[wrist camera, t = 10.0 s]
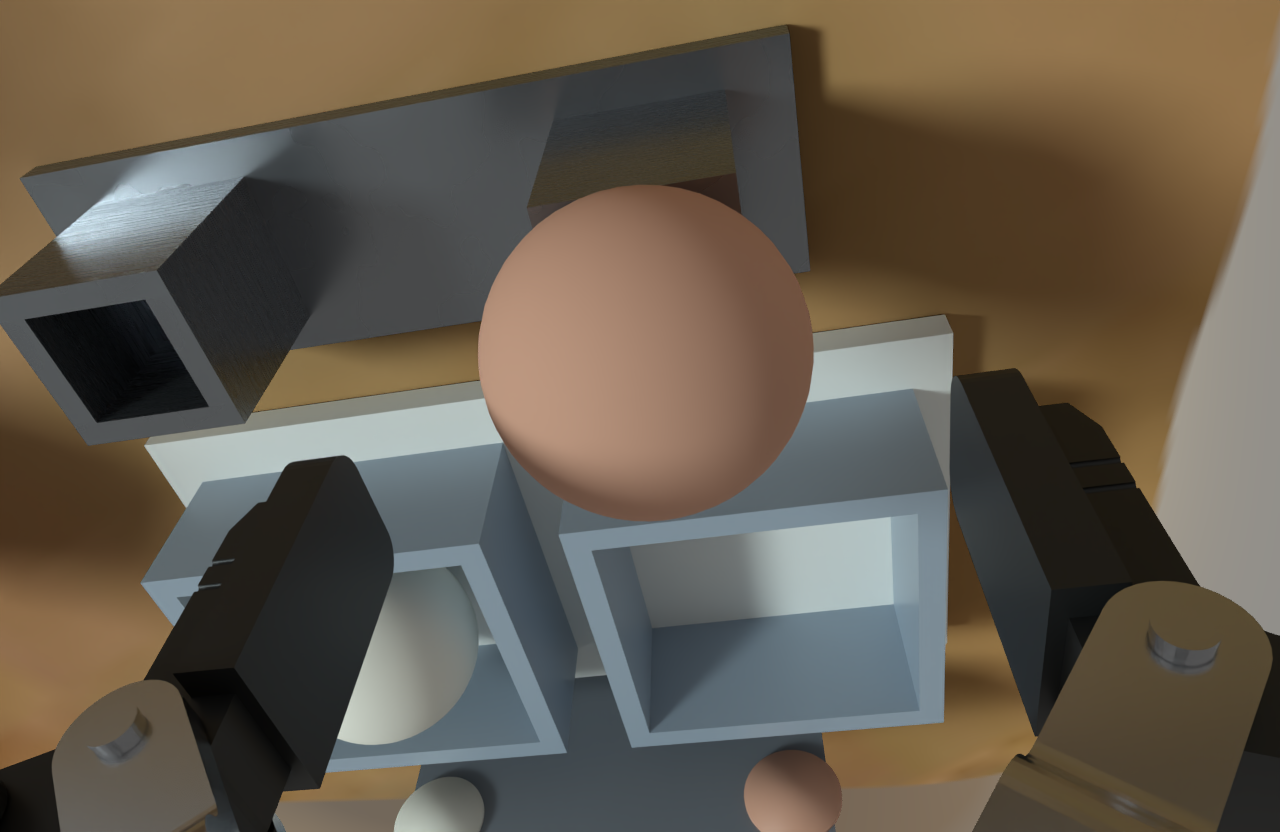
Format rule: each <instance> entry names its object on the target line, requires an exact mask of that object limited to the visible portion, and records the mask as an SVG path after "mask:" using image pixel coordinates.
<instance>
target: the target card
mask: <svg viewBox="0 0 1280 832" xmlns="http://www.w3.org/2000/svg"><path fill="white" fill-rule="evenodd" d="M841 808H842V793H841V787H840V783H839V780H838V778H837V776H836V774H835V773H834V771H833V770H832V768H831V767H830V766H829V765H828V764H827V763H826V761H825V754H824V747H823V740H822V733H821V732H820V733H807V734H795V735H783V736H770V737H758V738H746V739H733V740H721V741H709V742H696V743H684V744H672V745H659V746H647V747H635V748H632V747H631V744H630V741H629V738H628V735H627V732H626V729H625V727H624V724H623V721H622V718H621V715H620V712H619V709H618V706H617V703H616V700H615V698H614V695H613V692H612V689H611V686H610V683H609V680H608V677H607V675H602V676H591V677H580V678H575V683H574V692H573V702H572V711H571V721H570V731H569V740H568V750H567V753H561V754H548V755H536V756H524V757H511V758H499V759H487V760H474V761H462V762H450V763H437V764H425V765H421V769H420V773H419V777H418V781H417V785H416V789H415V792H414V793H413V794H412V795H411V796H410V797H409V798H408V799H407V800H406V802H405V803H404V804H403V806H402V808H401V809H400V812H399V813H398V816H397V819H396V822H395V826H394V832H836V831H835V823H836V822H837V820H838V818H839V815H840V812H841Z"/></svg>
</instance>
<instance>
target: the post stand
mask: <svg viewBox="0 0 1280 832" xmlns="http://www.w3.org/2000/svg"><path fill="white" fill-rule="evenodd" d="M20 180H21V181H22V183H23V185H24V186H25V188H26V189H27V191H28V192H29V194H30V196H31V197H32V199H33V200H34V202H35V203H36V205H37V207H38V208H39V210H40V211H41V213H42V214H43V216H44V218H45V219H46V221H47V222H48V224H49V225H50V227H51V229H52V230H53V232H54V233H55V235H56V236H57V237H56V238H55V239H54V240H52V241H51V242H50V243H49V244H48V245H47V246H45V247H44V248H43V249H42V250H41V251H39V252H38V253H37V254H36V255H35V256H34V257H32V258H31V259H30V260H29V261H28V262H26V263H25V264H24V265H23V266H22V267H21V268H19V269H18V270H17V271H16V272H15V273H13V274H12V275H11V276H10V277H9V278H7V279H6V280H5V281H4V282H3V283H2V284H0V325H1V326H2V327H3V329H4V330H5V332H6V333H7V334H8V336H9V337H10V338H11V340H12V341H13V343H14V344H15V345H16V347H17V348H18V350H19V351H20V352H21V354H22V355H23V356H24V358H25V359H26V361H27V362H28V363H29V365H30V366H31V367H32V369H33V370H34V372H35V373H36V374H37V376H38V377H39V379H40V380H41V381H42V383H43V384H44V385H45V387H46V388H47V390H48V391H49V392H50V394H51V395H52V397H53V398H54V399H55V401H56V402H57V403H58V405H59V406H60V408H61V409H62V410H63V412H64V413H65V414H66V416H67V417H68V419H69V420H70V421H71V423H72V424H73V426H74V427H75V428H76V430H77V431H78V432H79V434H80V435H81V437H82V438H83V439H84V441H85V442H86V443H87V445H88V446H90V445H97V444H104V443H111V442H118V441H125V440H132V439H140V438H147V437H154V436H161V435H168V434H175V433H182V432H189V431H197V430H204V429H211V428H218V427H225V426H232V425H239V424H245V423H246V421H247V420H248V418H249V416H250V415H251V413H252V411H253V410H254V408H255V406H256V405H257V403H258V402H259V400H260V398H261V397H262V395H263V393H264V392H265V390H266V388H267V387H268V385H269V383H270V382H271V380H272V378H273V377H274V375H275V374H276V372H277V370H278V369H279V367H280V365H281V364H282V362H283V360H284V359H285V357H286V355H287V354H288V352H289V350H293V349H299V348H306V347H312V346H319V345H326V344H332V343H339V342H345V341H352V340H359V339H365V338H372V337H378V336H385V335H392V334H398V333H405V332H411V331H418V330H425V329H431V328H438V327H444V326H451V325H458V324H464V323H471V322H477V321H482V316H483V311H484V306H485V303H486V301H487V298H488V295H489V292H490V290H491V287H492V285H493V283H494V281H495V279H496V277H497V275H498V273H499V271H500V269H501V268H502V266H503V264H504V262H505V260H506V259H507V258H508V257H509V255H510V254H511V253H512V251H513V250H514V249H515V248H516V246H517V245H518V244H519V243H520V242H521V240H522V239H523V238H524V237H525V236H526V235H527V234H528V233H529V232H530V231H531V230H532V229H533V228H534V227H535V226H536V225H537V224H539V223H540V222H541V221H543V220H544V219H545V218H547V217H548V216H550V215H551V214H552V213H554V212H555V211H557V210H559V209H561V208H563V207H564V206H566V205H568V204H570V203H572V202H574V201H576V200H578V199H580V198H582V197H585V196H588V195H590V194H593V193H596V192H599V191H603V190H607V189H611V188H616V187H622V186H632V185H662V186H669V187H676V188H682V189H685V190H689V191H692V192H696V193H700V194H702V195H705V196H707V197H710V198H712V199H714V200H717V201H719V202H721V203H723V204H724V205H726V206H728V207H730V208H731V209H733V210H735V211H736V212H738V213H739V214H741V215H742V216H744V217H745V218H746V219H748V220H749V221H750V222H751V223H753V224H754V225H755V226H757V227H758V228H759V229H760V230H761V231H762V232H763V233H764V234H765V235H766V236H767V237H768V238H769V239H770V240H771V241H772V242H773V244H774V245H775V246H776V248H777V249H778V251H779V252H780V253H781V255H782V256H783V257H784V259H785V260H786V262H787V263H788V264H789V266H790V267H791V269H792V271H793V273H801V272H807V271H810V262H809V251H808V240H807V228H806V217H805V205H804V194H803V182H802V171H801V160H800V148H799V137H798V125H797V114H796V102H795V91H794V80H793V68H792V57H791V45H790V34H789V31H788V28H787V25H781V26H776V27H770V28H765V29H760V30H755V31H749V32H744V33H739V34H734V35H728V36H723V37H718V38H713V39H707V40H702V41H697V42H691V43H686V44H681V45H676V46H670V47H665V48H660V49H655V50H649V51H644V52H639V53H634V54H628V55H623V56H618V57H612V58H607V59H602V60H597V61H591V62H586V63H581V64H576V65H570V66H565V67H560V68H555V69H549V70H544V71H539V72H533V73H528V74H523V75H518V76H512V77H507V78H502V79H497V80H491V81H486V82H481V83H476V84H470V85H465V86H460V87H454V88H449V89H444V90H439V91H433V92H428V93H423V94H418V95H412V96H407V97H402V98H397V99H391V100H386V101H381V102H375V103H370V104H365V105H360V106H354V107H349V108H344V109H339V110H333V111H328V112H323V113H317V114H312V115H307V116H302V117H296V118H291V119H286V120H281V121H275V122H270V123H265V124H260V125H254V126H249V127H244V128H238V129H233V130H228V131H223V132H217V133H212V134H207V135H202V136H196V137H191V138H186V139H181V140H175V141H170V142H165V143H159V144H154V145H149V146H144V147H138V148H133V149H128V150H123V151H117V152H112V153H107V154H102V155H96V156H91V157H86V158H80V159H75V160H70V161H65V162H59V163H54V164H49V165H44V166H38V167H35V168H33V169H32V170H31V171H29V172H28V173H26V174H25V175H24V176H22V177H21V178H20Z"/></svg>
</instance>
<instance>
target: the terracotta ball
mask: <svg viewBox="0 0 1280 832" xmlns="http://www.w3.org/2000/svg"><path fill="white" fill-rule="evenodd" d="M478 364H479V374H480V382H481V387H482V391H483V394H484V398H485V401H486V405H487V408H488V412H489V415H490V417H491V419H492V421H493V423H494V426H495V428H496V430H497V432H498V433H499V435H500V437H501V439H502V440H503V442H504V443H505V445H506V447H507V448H508V450H509V451H510V453H511V454H512V455H513V457H514V458H515V459H516V460H517V461H518V463H519V464H520V465H521V466H522V467H523V468H524V469H525V470H526V471H527V472H528V473H529V474H530V475H531V476H532V477H533V478H534V479H535V480H536V481H537V482H539V483H540V484H541V485H542V486H543V487H545V488H546V489H548V490H549V491H550V492H552V493H553V494H555V495H556V496H558V497H560V498H562V499H563V500H565V501H567V502H569V503H571V504H573V505H575V506H578V507H580V508H582V509H584V510H587V511H589V512H592V513H595V514H599V515H602V516H606V517H610V518H615V519H620V520H629V521H664V520H670V519H677V518H682V517H685V516H689V515H693V514H696V513H699V512H702V511H704V510H707V509H710V508H712V507H715V506H717V505H719V504H721V503H723V502H725V501H727V500H729V499H731V498H732V497H734V496H735V495H737V494H738V493H740V492H741V491H743V490H744V489H745V488H747V487H748V486H749V485H750V484H751V483H753V482H754V481H755V480H756V479H757V478H759V477H760V476H761V475H762V474H763V473H764V472H765V471H766V470H767V469H768V468H769V467H770V466H771V465H772V463H773V462H774V461H775V460H776V459H777V457H778V456H779V455H780V453H781V452H782V450H783V449H784V447H785V446H786V444H787V443H788V441H789V440H790V439H791V437H792V435H793V433H794V431H795V429H796V427H797V425H798V423H799V421H800V418H801V416H802V413H803V411H804V408H805V405H806V401H807V398H808V395H809V391H810V384H811V378H812V371H813V364H814V344H813V333H812V327H811V321H810V315H809V311H808V308H807V305H806V302H805V299H804V296H803V293H802V291H801V288H800V285H799V283H798V281H797V279H796V277H795V275H794V273H793V271H792V269H791V267H790V266H789V264H788V263H787V262H786V260H785V259H784V257H783V256H782V255H781V253H780V252H779V251H778V249H777V248H776V246H775V245H774V244H773V242H772V241H771V240H770V239H769V238H768V237H767V236H766V235H765V234H764V233H763V232H762V231H761V230H760V229H759V228H758V227H757V226H755V225H754V224H753V223H751V222H750V221H749V220H748V219H746V218H745V217H744V216H742V215H741V214H739V213H738V212H736V211H735V210H733V209H731V208H730V207H728V206H726V205H724V204H723V203H721V202H719V201H717V200H714V199H712V198H710V197H707V196H705V195H702V194H700V193H696V192H692V191H689V190H685V189H682V188H676V187H669V186H662V185H632V186H622V187H616V188H611V189H607V190H603V191H599V192H596V193H593V194H590V195H588V196H585V197H582V198H580V199H578V200H576V201H574V202H572V203H570V204H568V205H566V206H564V207H563V208H561V209H559V210H557V211H555V212H554V213H552V214H551V215H550V216H548V217H547V218H545V219H544V220H543V221H541V222H540V223H539V224H537V225H536V226H535V227H534V228H533V229H532V230H531V231H530V232H529V233H528V234H527V235H526V236H525V237H524V238H523V239H522V240H521V242H520V243H519V244H518V245H517V246H516V248H515V249H514V250H513V251H512V253H511V254H510V255H509V257H508V258H507V259H506V260H505V262H504V264H503V266H502V268H501V269H500V271H499V273H498V275H497V277H496V279H495V281H494V283H493V285H492V287H491V290H490V292H489V295H488V298H487V301H486V303H485V306H484V311H483V316H482V322H481V327H480V332H479V341H478Z"/></svg>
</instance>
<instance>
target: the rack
mask: <svg viewBox="0 0 1280 832" xmlns="http://www.w3.org/2000/svg"><path fill="white" fill-rule="evenodd" d="M813 344H814V364H813V371H812V378H811V384H810V391H809V395H808V398H807V401H806V405H805V408H804V411H803V413H802V416H801V418H800V421H799V423H798V425H797V427H796V429H795V431H794V433H793V435H792V437H791V439H790V440H789V441H788V443H787V444H786V446H785V447H784V449H783V450H782V452H781V453H780V455H779V456H778V457H777V459H776V460H775V461H774V462H773V463H772V465H771V466H770V467H769V468H768V469H767V470H766V471H765V472H764V473H763V474H762V475H761V476H760V477H759V478H757V479H756V480H755V481H754V482H753V483H751V484H750V485H749V486H748V487H747V488H745V489H744V490H743V491H741V492H740V493H738V494H737V495H735V496H734V497H732V498H731V499H729V500H727V501H725V502H723V503H721V504H719V505H717V506H715V507H712V508H710V509H707V510H704V511H702V512H699V513H696V514H693V515H689V516H685V517H682V518H677V519H670V520H664V521H629V520H620V519H615V518H610V517H606V516H602V515H599V514H595V513H592V512H589V511H587V510H584V509H582V508H580V507H578V506H575V505H573V504H571V503H569V502H567V501H565V500H563V499H562V498H560V497H558V496H556V495H555V494H553V493H552V492H550V491H549V490H548V489H546V488H545V487H543V486H542V485H541V484H540V483H539V482H537V481H536V480H535V479H534V478H533V477H532V476H531V475H530V474H529V473H528V472H527V471H526V470H525V469H524V468H523V467H522V466H521V465H520V464H519V463H518V461H517V460H516V459H515V458H514V457H513V455H512V454H511V453H510V451H509V450H508V448H507V447H506V445H505V443H504V442H503V440H502V439H501V437H500V435H499V433H498V432H497V430H496V428H495V426H494V423H493V421H492V419H491V417H490V415H489V412H488V408H487V405H486V401H485V398H484V394H483V391H482V387H481V382H480V381H473V382H466V383H459V384H452V385H445V386H438V387H431V388H424V389H417V390H410V391H403V392H396V393H388V394H381V395H374V396H367V397H360V398H353V399H346V400H339V401H332V402H325V403H318V404H311V405H304V406H297V407H290V408H283V409H276V410H269V411H262V412H255V413H251V415H250V416H249V418H248V420H247V421H246V423H245V424H239V425H232V426H225V427H218V428H211V429H204V430H197V431H189V432H182V433H175V434H168V435H161V436H154V437H150V438H149V440H148V441H147V442H146V444H145V445H144V446H145V448H146V449H147V451H148V452H149V454H150V455H151V457H152V458H153V460H154V461H155V463H156V464H157V466H158V467H159V469H160V470H161V471H162V473H163V474H164V476H165V477H166V479H167V480H168V482H169V483H170V485H171V486H172V488H173V489H174V491H175V492H176V494H177V495H178V497H179V498H180V500H181V501H182V503H183V504H184V506H185V507H186V510H185V511H184V513H183V515H182V516H181V518H180V519H179V521H178V523H177V524H176V526H175V528H174V529H173V531H172V532H171V534H170V536H169V537H168V539H167V541H166V542H165V544H164V545H163V547H162V549H161V550H160V552H159V554H158V555H157V557H156V558H155V560H154V562H153V563H152V565H151V567H150V568H149V570H148V571H147V573H146V575H145V576H144V578H143V579H142V581H141V584H142V586H143V587H144V588H145V590H146V591H147V592H148V594H149V595H150V596H151V597H152V599H153V600H154V601H155V603H156V604H157V605H158V607H159V608H160V609H161V610H162V612H163V613H164V614H165V616H166V617H167V618H168V620H169V621H170V622H171V623H172V625H173V626H175V624H176V623H177V621H178V619H179V617H180V616H181V614H182V612H183V610H184V609H185V607H186V605H187V603H188V602H189V600H190V598H191V596H192V594H193V593H194V592H196V591H198V589H199V588H198V584H199V582H200V580H201V579H202V577H203V575H204V573H205V572H206V570H207V568H208V567H211V566H212V564H213V563H212V559H213V558H214V556H215V554H216V552H217V551H218V549H219V547H220V545H221V544H222V542H223V540H224V538H225V537H226V535H227V533H228V531H229V530H230V529H231V528H232V527H233V526H234V525H235V524H236V523H237V522H238V521H239V520H240V519H242V518H243V517H244V516H245V515H246V514H247V513H248V512H249V511H250V510H251V509H252V508H253V507H254V506H255V505H256V504H257V503H259V502H266V501H267V499H268V497H269V495H270V493H271V491H272V489H273V488H274V486H275V484H276V482H277V480H278V478H279V477H280V475H281V473H282V471H283V469H284V468H285V466H287V465H288V464H289V463H291V462H294V461H302V460H309V459H317V458H325V457H332V456H340V455H345V456H347V457H349V458H350V459H351V460H352V461H353V462H354V464H355V465H356V467H357V469H358V471H359V473H360V475H361V477H362V479H363V481H364V483H365V485H366V487H367V489H368V491H369V494H370V496H371V498H372V500H373V502H374V504H375V506H376V508H377V510H378V512H379V514H380V516H381V518H382V520H383V522H384V524H385V526H386V529H387V531H388V533H389V535H390V538H391V541H392V546H393V552H394V570H393V573H398V572H407V571H416V570H424V569H433V568H442V567H445V568H447V569H448V570H449V571H450V572H451V573H452V574H453V575H454V576H455V577H456V578H457V579H458V581H459V582H460V583H461V585H462V586H463V588H464V589H465V591H466V593H467V594H468V596H469V598H470V600H471V603H472V605H473V608H474V611H475V614H476V619H477V624H478V630H479V646H478V655H477V660H476V664H475V667H474V671H473V674H472V677H471V679H470V681H469V683H468V685H467V687H466V689H465V691H464V693H463V694H462V696H461V697H460V699H459V700H458V701H457V703H456V704H455V705H454V706H453V708H452V709H451V710H450V711H449V712H448V713H447V714H446V715H445V716H444V717H443V718H441V719H440V720H439V721H438V722H437V723H435V724H434V725H433V726H431V727H430V728H428V729H426V730H425V731H423V732H421V733H419V734H417V735H415V736H413V737H410V738H407V739H404V740H401V741H398V742H394V743H389V744H379V745H363V744H356V743H350V742H346V741H343V740H340V739H337V740H336V743H335V746H334V749H333V752H332V755H331V758H330V760H329V763H328V766H327V769H326V772H339V771H351V770H363V769H376V768H388V767H400V766H413V765H425V764H437V763H450V762H462V761H474V760H487V759H499V758H511V757H524V756H536V755H548V754H561V753H567V750H568V740H569V731H570V721H571V711H572V702H573V692H574V683H575V678H580V677H591V676H602V675H607V677H608V680H609V683H610V686H611V689H612V692H613V695H614V698H615V700H616V703H617V706H618V709H619V712H620V715H621V718H622V721H623V724H624V727H625V729H626V732H627V735H628V738H629V741H630V744H631V747H632V748H635V747H647V746H659V745H672V744H684V743H696V742H709V741H721V740H733V739H746V738H758V737H770V736H783V735H795V734H807V733H820V732H832V731H844V730H857V729H869V728H881V727H894V726H906V725H918V724H930V723H943V722H944V681H945V644H946V643H947V612H948V564H949V515H950V470H949V464H950V393H951V382H952V370H953V331H952V329H951V327H950V325H949V323H948V320H947V318H946V316H945V315H938V316H931V317H924V318H917V319H909V320H902V321H895V322H888V323H881V324H874V325H867V326H860V327H853V328H846V329H839V330H832V331H825V332H818V333H813ZM326 772H325V773H326Z"/></svg>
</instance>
